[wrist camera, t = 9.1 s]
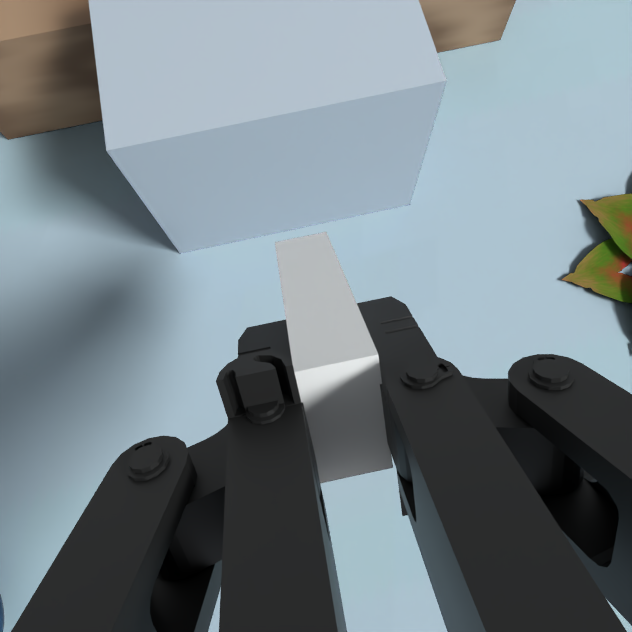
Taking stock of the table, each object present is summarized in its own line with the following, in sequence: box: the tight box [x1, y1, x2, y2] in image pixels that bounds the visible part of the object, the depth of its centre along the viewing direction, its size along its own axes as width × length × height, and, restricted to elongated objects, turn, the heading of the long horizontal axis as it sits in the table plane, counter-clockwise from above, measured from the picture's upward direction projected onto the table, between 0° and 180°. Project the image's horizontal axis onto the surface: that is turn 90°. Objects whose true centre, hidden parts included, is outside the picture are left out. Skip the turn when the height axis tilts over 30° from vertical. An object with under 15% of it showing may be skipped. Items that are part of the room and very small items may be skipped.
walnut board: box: [0, 0, 516, 139], centre depth 26 cm, size 28×3×6 cm, turn 102°
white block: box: [89, 0, 447, 254], centre depth 23 cm, size 12×8×9 cm, turn 102°
